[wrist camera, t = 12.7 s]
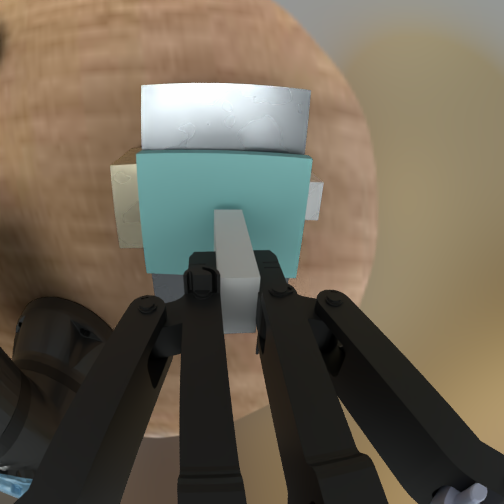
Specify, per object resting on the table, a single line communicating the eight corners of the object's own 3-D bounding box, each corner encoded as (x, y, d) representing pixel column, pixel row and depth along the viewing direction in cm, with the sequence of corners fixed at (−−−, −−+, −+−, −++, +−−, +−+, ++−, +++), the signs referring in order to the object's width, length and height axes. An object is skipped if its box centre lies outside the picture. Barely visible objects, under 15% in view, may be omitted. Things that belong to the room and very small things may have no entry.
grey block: (167, 255, 30) (156, 307, 23) (162, 87, 22) (141, 85, 15) (268, 255, 31) (284, 305, 24) (282, 89, 23) (310, 90, 16)
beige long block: (136, 215, 26) (119, 248, 21) (132, 148, 23) (110, 165, 18) (300, 215, 28) (320, 246, 23) (308, 150, 25) (333, 168, 20)
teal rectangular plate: (150, 265, 21) (146, 273, 20) (141, 150, 17) (136, 153, 16) (293, 270, 21) (295, 278, 21) (308, 155, 18) (312, 159, 17)
